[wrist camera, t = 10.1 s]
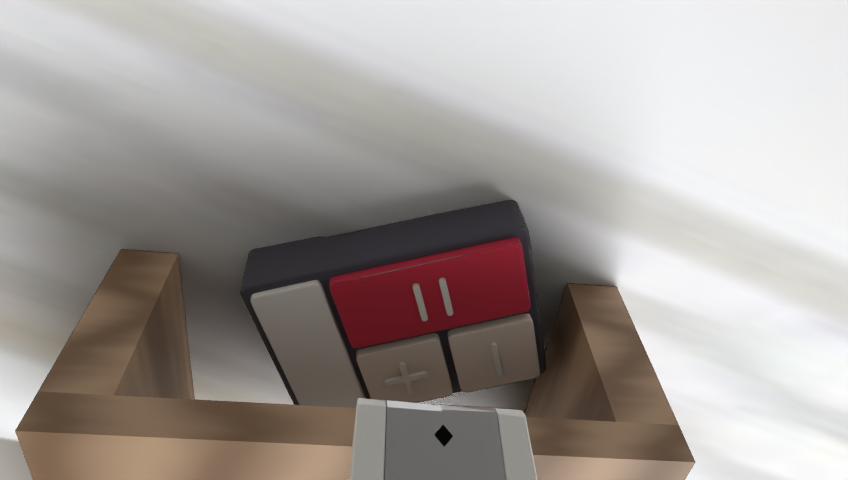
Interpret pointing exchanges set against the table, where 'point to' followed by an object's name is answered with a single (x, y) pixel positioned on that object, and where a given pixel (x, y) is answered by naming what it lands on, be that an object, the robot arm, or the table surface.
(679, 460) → the monitor riser
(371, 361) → the calculator
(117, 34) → the table surface
